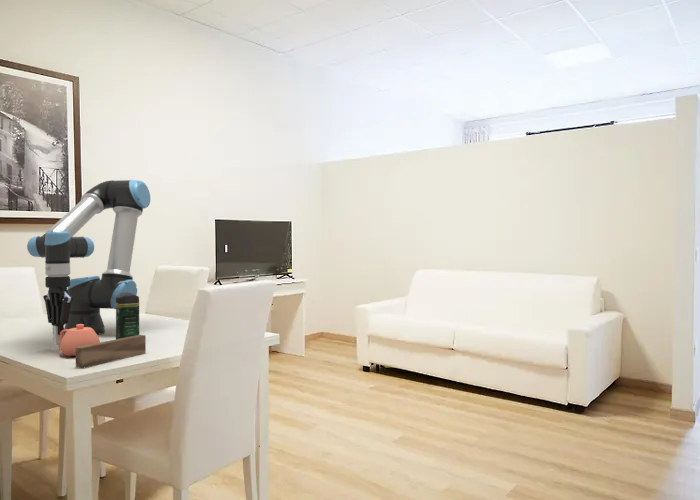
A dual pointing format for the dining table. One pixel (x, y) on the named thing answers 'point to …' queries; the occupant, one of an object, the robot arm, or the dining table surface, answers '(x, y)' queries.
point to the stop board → (110, 350)
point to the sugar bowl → (76, 339)
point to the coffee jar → (127, 315)
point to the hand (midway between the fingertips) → (58, 344)
